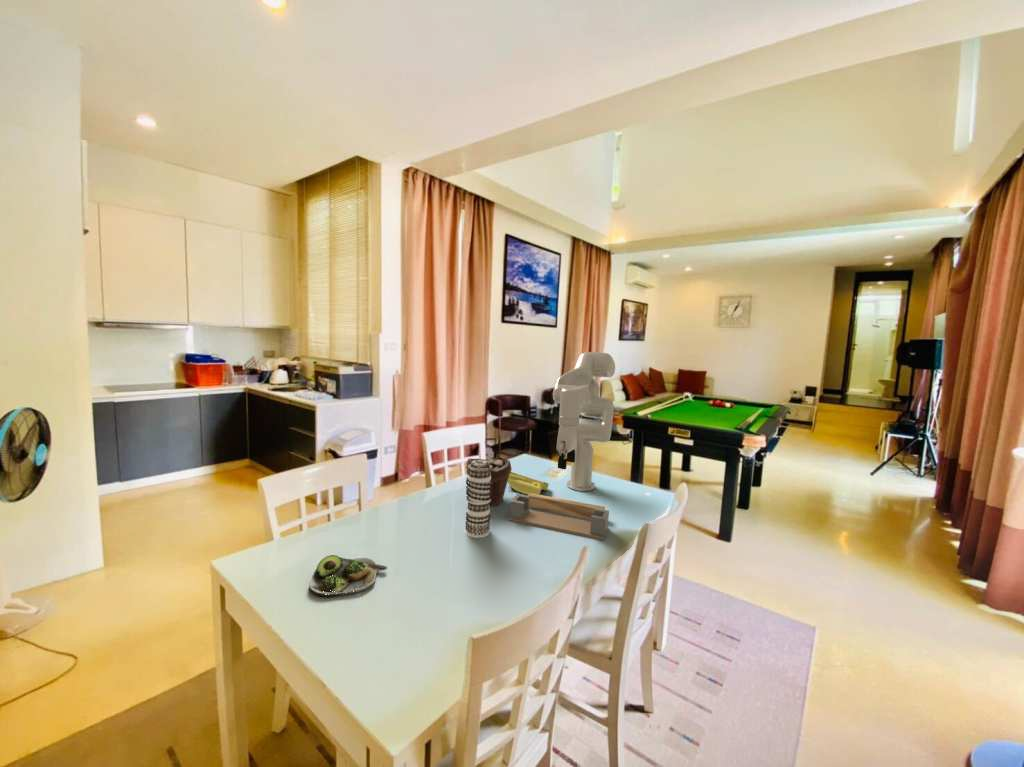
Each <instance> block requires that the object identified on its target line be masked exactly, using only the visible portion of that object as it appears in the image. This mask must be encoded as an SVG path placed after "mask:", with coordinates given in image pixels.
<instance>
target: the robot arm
mask: <svg viewBox="0 0 1024 767" xmlns="http://www.w3.org/2000/svg"><path fill="white" fill-rule="evenodd" d="M615 372H616V362H615V360H614V358H613V357H612V355H611V354H609V353H607V352H597V351H596V352H595V351H594V352H593V351H585V352H583V353H581V354H579V357H578V359H577V361H576V364H575V366H574V368H573V369H571V370H570V371H567V372H565V373H564V374H562V375H560V376H559V377H558V379H557V381H556V383H555V384H554V387H553V391H552V399H553V401H554V402H555V403H557V404H559V412H558V413H559V414H558V415H559V416H558V425H559V427H558V433H557V441H556V451H557V469H561V470H567V462H568V463H571V468H570V479H569V480H568V481H566V486H567V488H569V489H571V490H573V491H577V492H590V491H592V490H595V484H594V483H593V482H592V480H593V479H592V478H593V464H594V448H593V444H592V443H591V442H597V443H608V442H609V441H610V439H611V436H612V430H613V429H612V428H613V421H614V420H613V419H614V412H615V411H614V409H615V405H614V402H613V400H612V399H611V398H607V397H600V390H601V388H600V386H599V384H598V382H597V381H596V380H595V378H594V377H596V378H597V377H599V378H611V377H614V374H615ZM580 416H582V417H585V418H580ZM590 418H594V419H590ZM597 419H601V420H597Z"/></svg>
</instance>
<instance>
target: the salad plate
mask: <svg viewBox="0 0 1024 767" xmlns="http://www.w3.org/2000/svg"><path fill="white" fill-rule="evenodd" d="M387 569H388V566H386V565H382V564H377V563H376V562H375V560H373V559H371V558H369V557H356V558H345V557H341V556H338V555H335V554H331V555H327V556H325V557H323V558H322V559H321V560H320V561H319V563H318V564H317V566H316V569H315V571H314V572H313V575H312V577H311V580H310V583H309V585H308V586H309V587H308V590H309V592H310V593H311V594H312V595H314V596H317V597H322V598H330V597H331V598H333V597H338V596H339V597H340V596H345V595H346V596H347V595H350V594H354V593H359V592H362V591H364V590H367V589H368V588H370V587H371V586H373V585H374V584H375V582H376V578H377V574H378V572H380V571H381V572H382V571H386V570H387ZM332 575H333V576H332ZM330 576H331V577H330ZM360 581H361V582H362V585H360V586H359V587H356V588H354V589H351V590H348V591H343V590H344V589H345V588H346V587H347V586H349V585H350V584H351V583H352V584H353V583H355V582H356V583H357V582H360ZM339 589H340V590H339ZM330 590H331V591H330ZM323 591H324V592H323ZM332 591H333V592H332ZM334 591H335V592H334ZM353 591H354V592H353ZM344 592H347V593H344ZM336 593H337V594H336ZM325 594H327V595H325ZM328 594H329V595H328Z"/></svg>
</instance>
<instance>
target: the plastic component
mask: <svg viewBox="0 0 1024 767" xmlns="http://www.w3.org/2000/svg"><path fill="white" fill-rule="evenodd" d="M507 484H508V485H509V486H510V487H511V488H512V489H513V490H515V491H516V492H518V493H522V494H523V495H527V496H528V495H529V494H530V493H532V494H537V495H541V492H542V490H543V491H547V490H549V488H548V487H549V486H550V484H549V483H547V482H545V481H541V480H537V479H533V478H532V477H528V476H526V475H522V474H520V473H519V474H518V473H515V472H513V471H511V473H510V474H509V477H508V481H507Z"/></svg>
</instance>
